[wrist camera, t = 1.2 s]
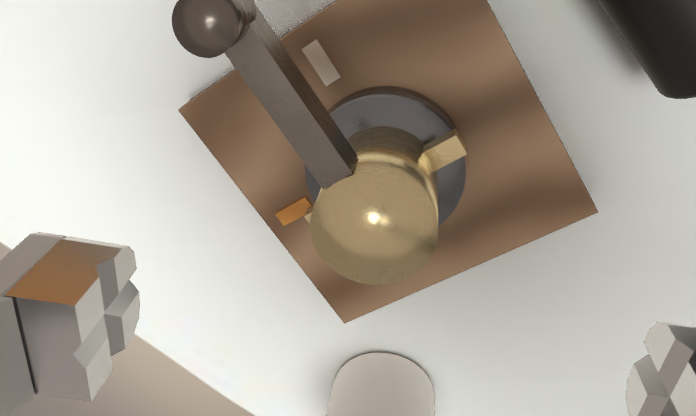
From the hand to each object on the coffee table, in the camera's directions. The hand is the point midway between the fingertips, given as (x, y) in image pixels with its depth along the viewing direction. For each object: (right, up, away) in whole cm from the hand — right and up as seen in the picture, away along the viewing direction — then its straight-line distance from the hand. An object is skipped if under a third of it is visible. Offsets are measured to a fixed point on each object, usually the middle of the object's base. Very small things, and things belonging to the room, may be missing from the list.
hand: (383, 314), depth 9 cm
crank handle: (-1, +7, +22) cm, 23 cm away
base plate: (+2, +5, +27) cm, 28 cm away
